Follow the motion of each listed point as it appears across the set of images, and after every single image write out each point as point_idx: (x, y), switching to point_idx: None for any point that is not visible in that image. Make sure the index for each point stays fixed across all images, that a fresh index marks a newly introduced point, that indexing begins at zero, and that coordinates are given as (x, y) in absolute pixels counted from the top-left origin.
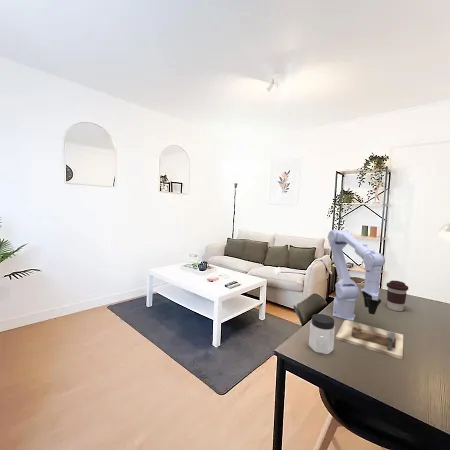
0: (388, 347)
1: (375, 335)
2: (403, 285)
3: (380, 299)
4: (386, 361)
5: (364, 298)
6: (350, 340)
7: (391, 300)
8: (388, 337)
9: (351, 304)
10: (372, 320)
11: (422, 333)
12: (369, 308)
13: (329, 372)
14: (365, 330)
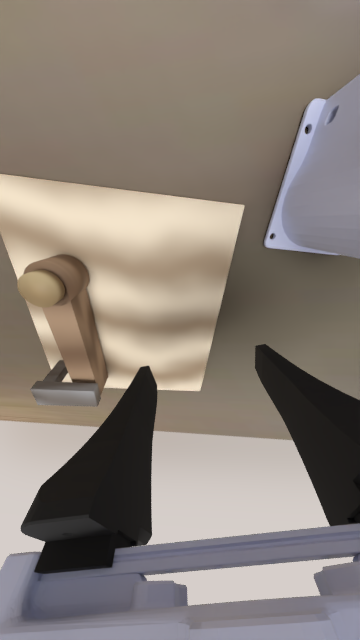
0: (55, 368)
1: (61, 350)
2: None
3: (144, 544)
4: (13, 351)
5: (299, 392)
6: (8, 253)
7: None
8: (37, 393)
9: (354, 240)
10: (300, 318)
11: (249, 413)
12: (125, 399)
13: None
14: (71, 319)
